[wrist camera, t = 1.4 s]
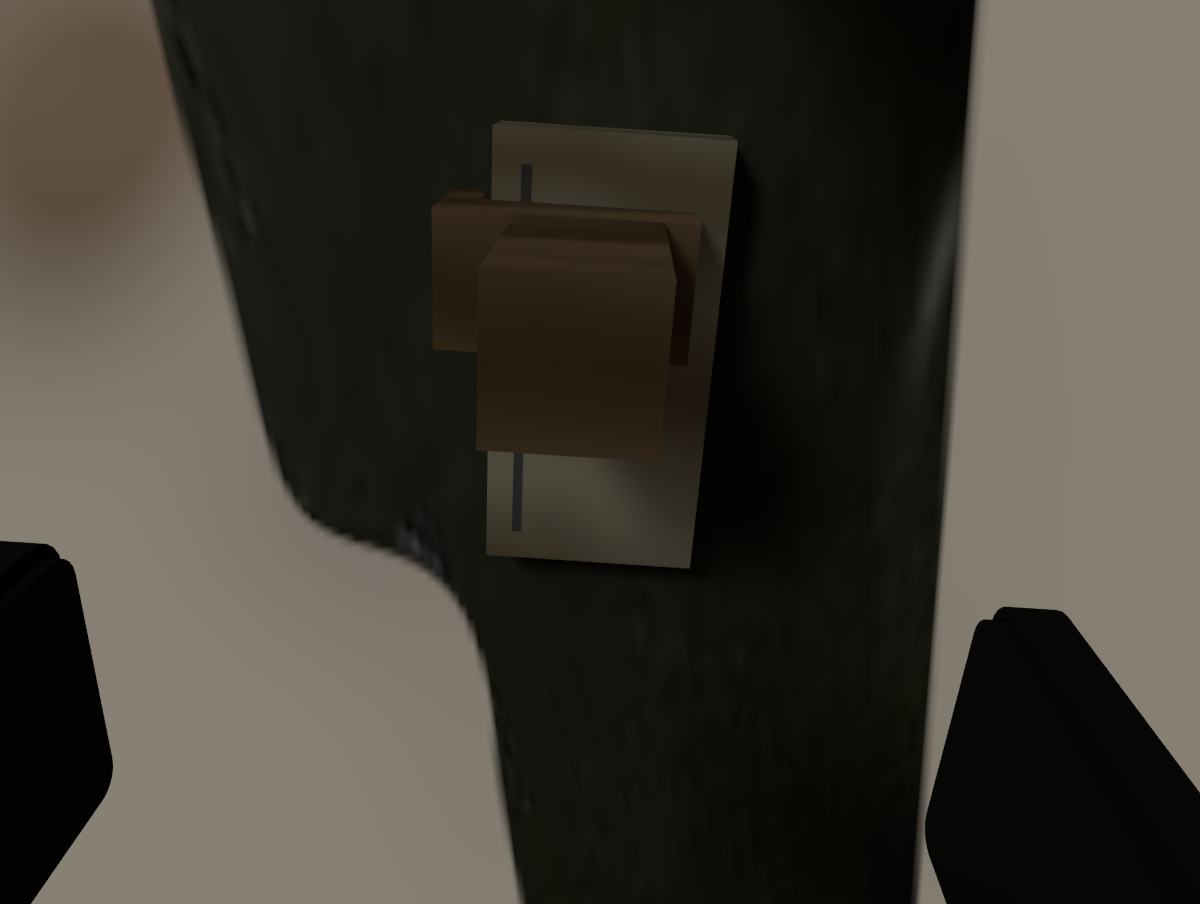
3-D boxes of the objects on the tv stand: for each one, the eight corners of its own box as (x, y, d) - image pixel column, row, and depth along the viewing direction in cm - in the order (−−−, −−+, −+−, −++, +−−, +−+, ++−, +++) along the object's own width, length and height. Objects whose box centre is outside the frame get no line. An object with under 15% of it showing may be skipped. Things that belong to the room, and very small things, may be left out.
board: (501, 120, 29) (492, 125, 27) (730, 135, 29) (738, 141, 27) (494, 527, 34) (486, 555, 32) (686, 540, 34) (689, 568, 32)
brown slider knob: (456, 187, 29) (364, 260, 19) (692, 203, 29) (726, 284, 19) (456, 314, 30) (371, 443, 20) (680, 329, 30) (705, 465, 20)
